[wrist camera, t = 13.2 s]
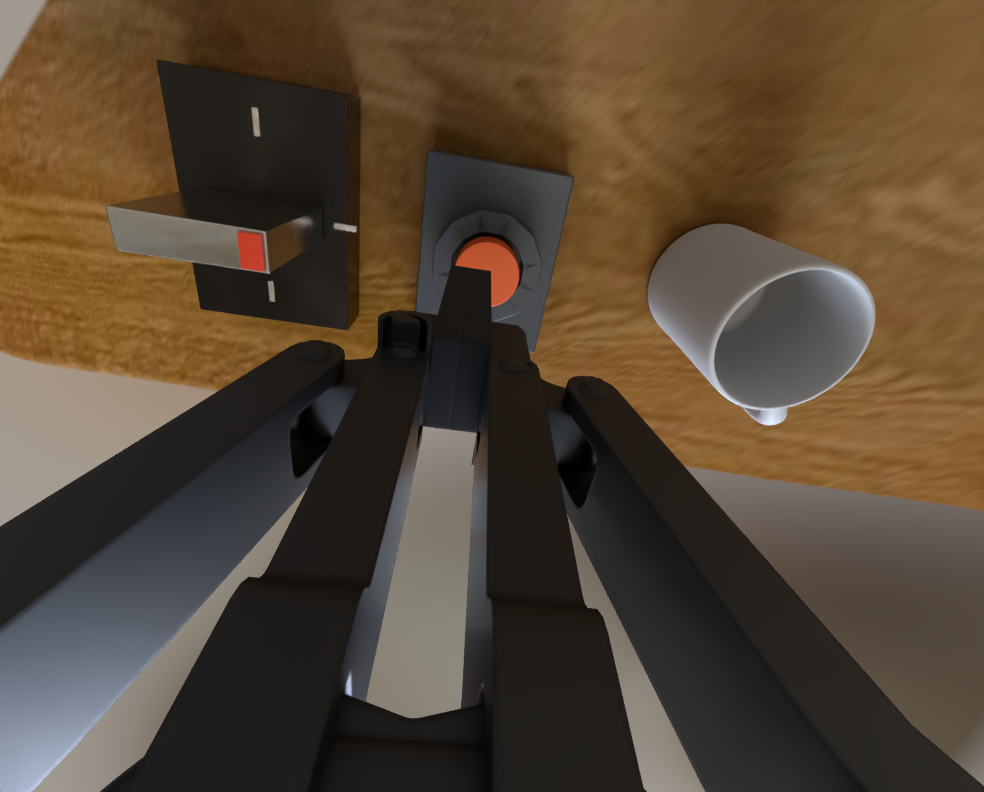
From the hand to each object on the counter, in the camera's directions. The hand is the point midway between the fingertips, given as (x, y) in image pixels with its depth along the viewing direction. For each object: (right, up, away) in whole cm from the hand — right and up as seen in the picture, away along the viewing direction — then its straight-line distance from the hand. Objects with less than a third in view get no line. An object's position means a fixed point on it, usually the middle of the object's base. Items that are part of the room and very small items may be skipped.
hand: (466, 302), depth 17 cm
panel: (-13, +9, +13) cm, 21 cm away
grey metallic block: (-13, +8, +10) cm, 18 cm away
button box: (+1, +6, +15) cm, 16 cm away
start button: (+1, +5, +12) cm, 12 cm away
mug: (+17, +3, +17) cm, 24 cm away
